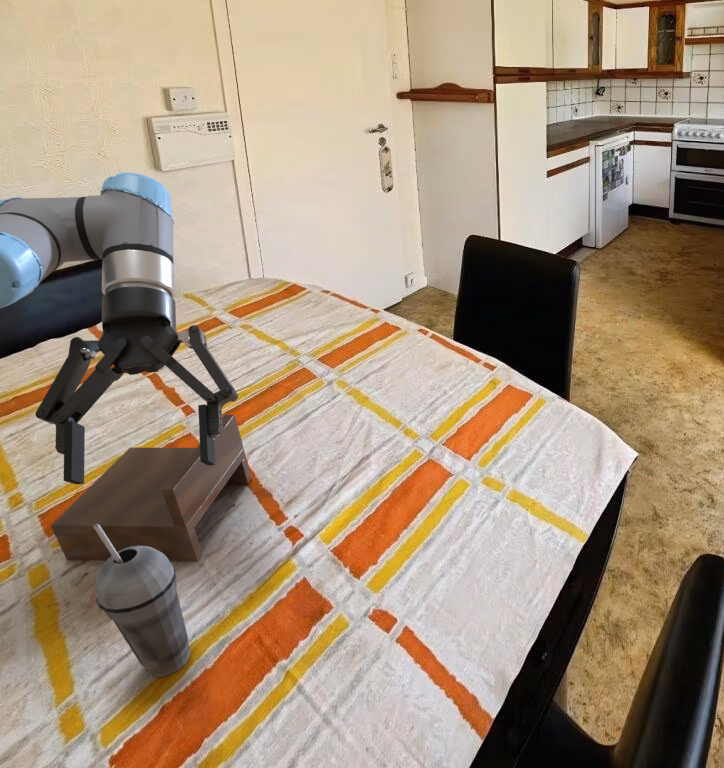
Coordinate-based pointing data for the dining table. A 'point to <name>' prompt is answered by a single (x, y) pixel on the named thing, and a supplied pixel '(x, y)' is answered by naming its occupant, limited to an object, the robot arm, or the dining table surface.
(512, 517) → the dining table surface
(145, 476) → the shelf
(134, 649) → the beverage cup
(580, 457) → the dining table surface
